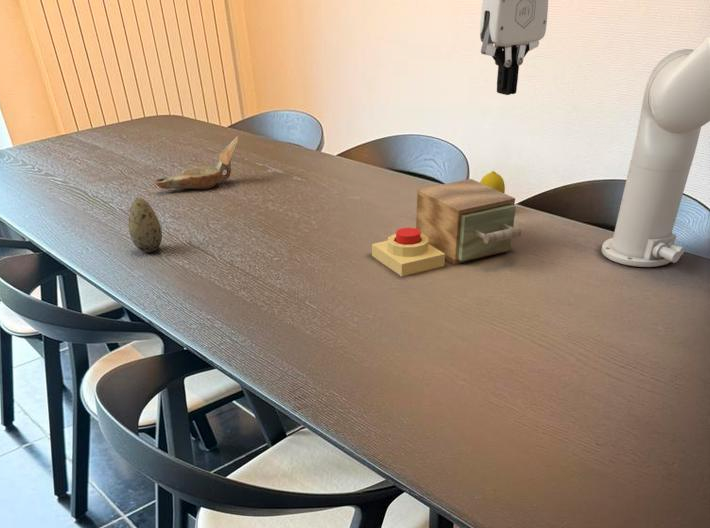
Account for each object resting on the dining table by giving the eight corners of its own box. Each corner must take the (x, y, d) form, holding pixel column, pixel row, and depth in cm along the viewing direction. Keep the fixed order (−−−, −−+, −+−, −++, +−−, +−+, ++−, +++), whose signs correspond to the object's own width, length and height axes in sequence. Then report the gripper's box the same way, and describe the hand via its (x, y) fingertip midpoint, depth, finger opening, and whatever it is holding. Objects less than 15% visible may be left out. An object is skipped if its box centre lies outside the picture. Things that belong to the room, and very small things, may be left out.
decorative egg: (128, 255, 129) (115, 201, 123) (145, 244, 134) (133, 191, 127) (154, 258, 128) (142, 204, 121) (171, 247, 132) (160, 194, 126)
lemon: (501, 216, 140) (506, 175, 135) (475, 215, 141) (478, 174, 136) (502, 207, 144) (507, 167, 139) (476, 206, 145) (480, 167, 140)
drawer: (526, 257, 121) (532, 213, 116) (476, 270, 117) (480, 225, 112) (471, 228, 132) (475, 187, 127) (424, 239, 129) (426, 197, 124)
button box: (444, 266, 121) (445, 244, 119) (401, 276, 118) (402, 254, 116) (412, 246, 129) (413, 225, 126) (371, 255, 126) (371, 234, 123)
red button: (424, 243, 120) (425, 233, 119) (403, 247, 119) (403, 238, 118) (412, 235, 123) (412, 225, 122) (391, 240, 122) (391, 230, 121)
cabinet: (508, 251, 125) (515, 198, 119) (454, 264, 122) (458, 210, 115) (466, 229, 135) (471, 178, 129) (415, 240, 131) (417, 189, 125)
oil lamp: (248, 185, 161) (243, 139, 155) (160, 199, 155) (151, 152, 148) (238, 175, 167) (232, 131, 161) (152, 189, 161) (143, 143, 154)
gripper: (493, -43, 95) (483, 103, 107) (574, -51, 100) (556, 90, 112) (462, -43, 100) (456, 96, 112) (541, -51, 105) (527, 83, 117)
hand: (506, 93), depth 112 cm, fingers closed
